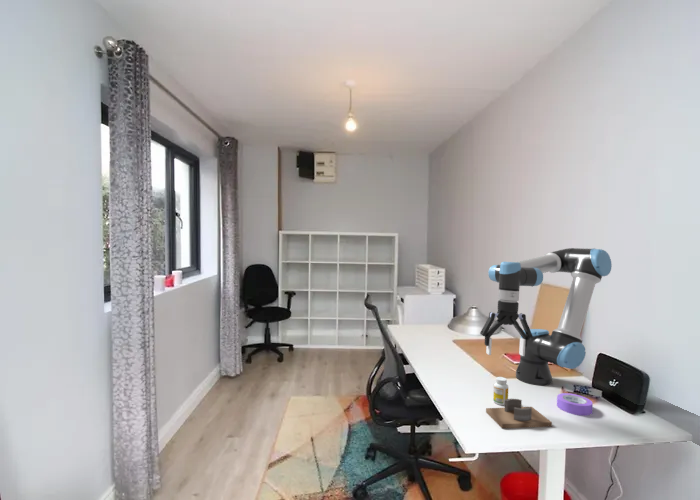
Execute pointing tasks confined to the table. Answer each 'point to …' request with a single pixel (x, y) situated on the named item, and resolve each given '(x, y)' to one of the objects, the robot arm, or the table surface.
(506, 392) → the supplement bottle
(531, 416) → the collar board
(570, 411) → the masking tape
